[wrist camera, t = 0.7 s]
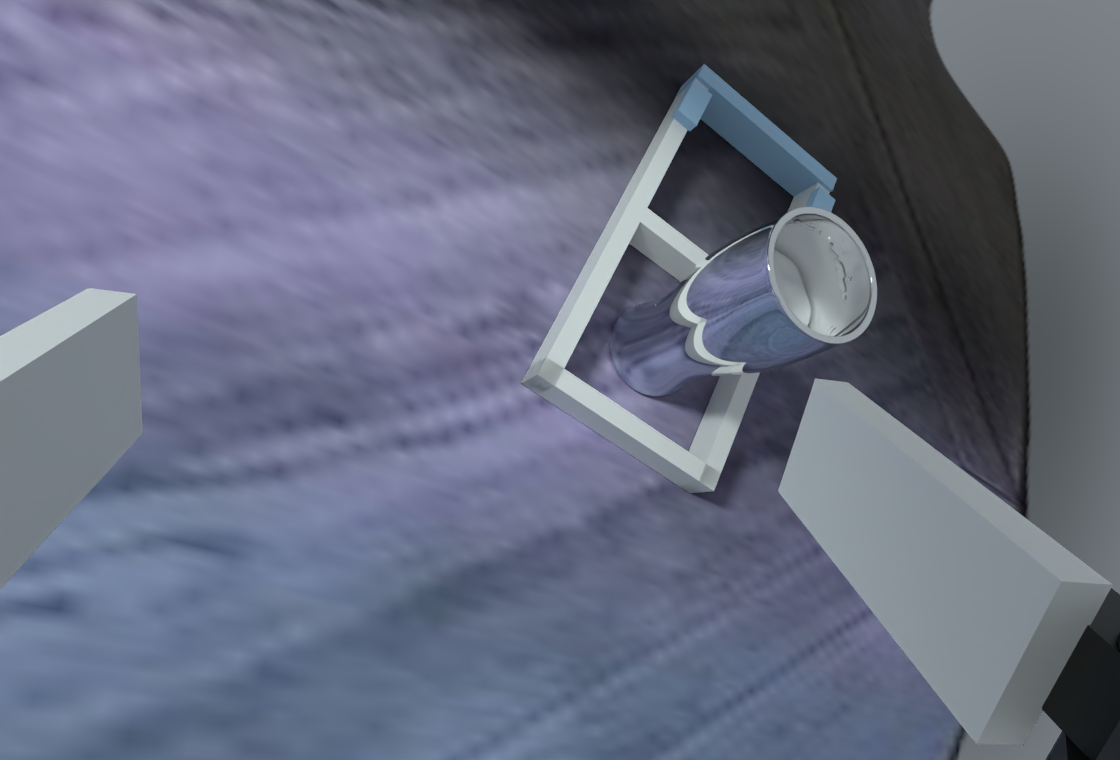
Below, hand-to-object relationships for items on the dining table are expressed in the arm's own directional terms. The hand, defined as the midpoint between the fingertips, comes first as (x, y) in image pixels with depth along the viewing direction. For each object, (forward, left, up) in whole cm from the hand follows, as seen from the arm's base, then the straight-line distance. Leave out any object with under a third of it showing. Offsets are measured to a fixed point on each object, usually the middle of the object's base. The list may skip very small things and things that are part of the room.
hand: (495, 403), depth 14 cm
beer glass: (-8, +19, -25) cm, 33 cm away
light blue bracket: (-23, +28, -25) cm, 43 cm away
